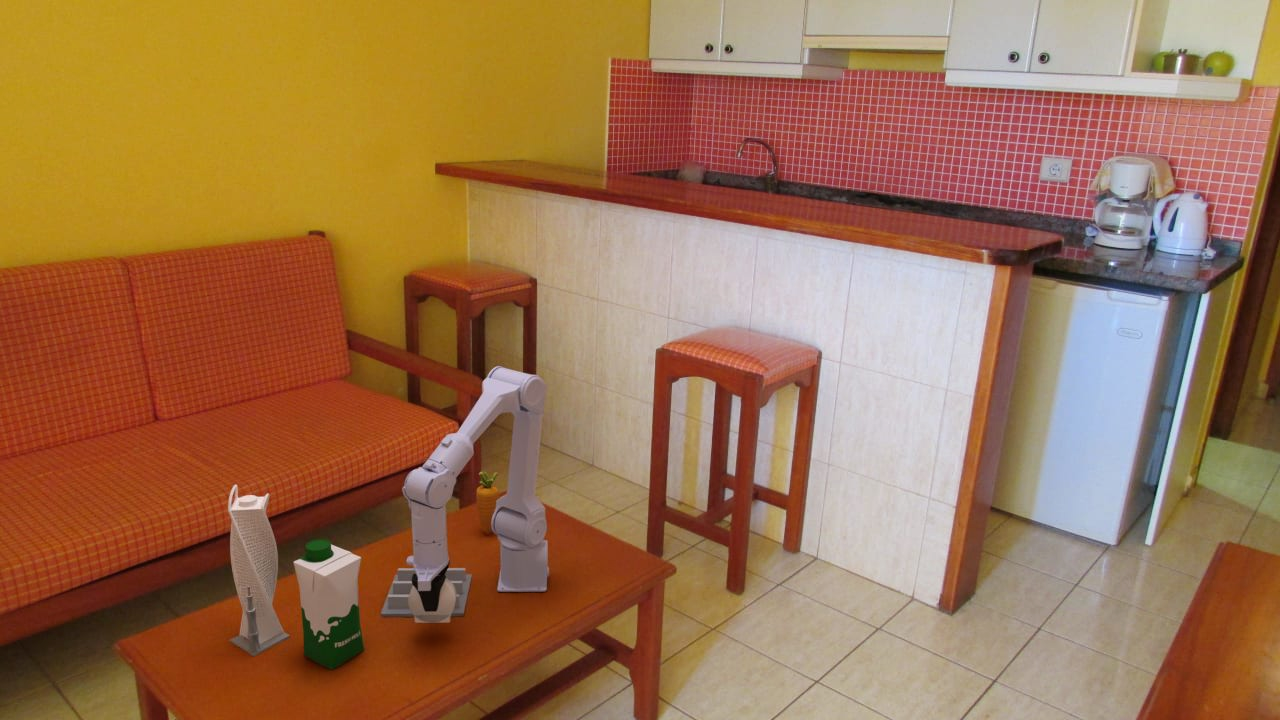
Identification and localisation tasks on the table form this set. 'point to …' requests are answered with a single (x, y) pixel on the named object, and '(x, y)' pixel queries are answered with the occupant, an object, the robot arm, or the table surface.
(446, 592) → the cream round puck
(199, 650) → the table surface
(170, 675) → the table surface
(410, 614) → the dish rack
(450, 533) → the table surface
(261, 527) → the skyscraper
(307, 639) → the milk carton
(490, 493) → the carrot
